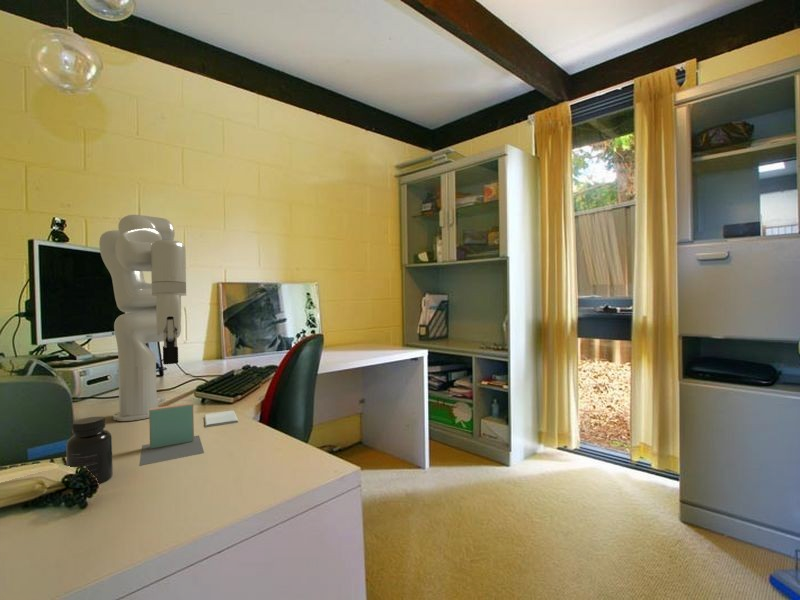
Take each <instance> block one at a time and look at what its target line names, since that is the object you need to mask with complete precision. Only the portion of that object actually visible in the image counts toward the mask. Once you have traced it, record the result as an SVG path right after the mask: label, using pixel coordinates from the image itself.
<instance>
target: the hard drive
mask: <svg viewBox="0 0 800 600" xmlns="http://www.w3.org/2000/svg"><path fill="white" fill-rule="evenodd" d="M203 417H204V424H205V428H210V427H217V426H224V425H229V424H236V423H237V424H238V423H239V420H238V416H237V415H236V413H235V410H232V409H231V410H226V411H225V410H224V411H217V412H211V413H210V412H209V413H205V414H204V416H203Z"/></svg>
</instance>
